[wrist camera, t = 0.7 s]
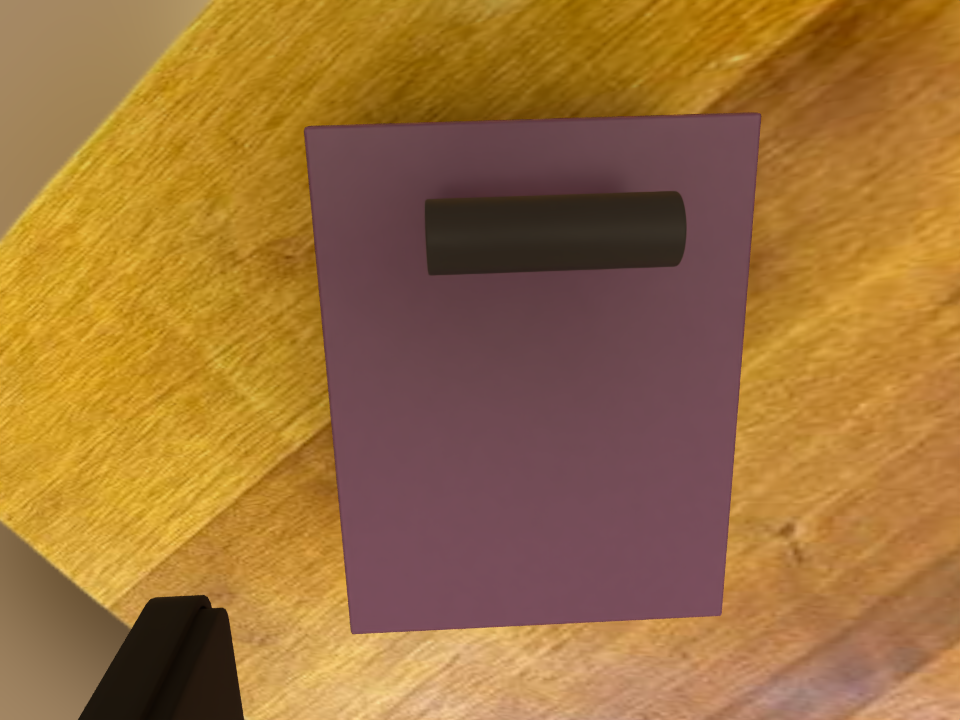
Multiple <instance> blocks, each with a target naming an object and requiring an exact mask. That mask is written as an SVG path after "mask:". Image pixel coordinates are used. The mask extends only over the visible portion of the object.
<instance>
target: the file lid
mask: <svg viewBox="0 0 960 720" xmlns="http://www.w3.org/2000/svg"><path fill="white" fill-rule="evenodd" d="M760 124H761V114H759V113H717V114H684V115H651V116H618V117H585V118H552V119H520V120H487V121H454V122H421V123H388V124H355V125H322V126H308V127H305V129H304V136H305V146H306V157H307V168H308V178H309V189H310V200H311V210H312V221H313V232H314V242H315V253H316V264H317V274H318V285H319V296H320V306H321V317H322V328H323V338H324V349H325V360H326V370H327V381H328V392H329V402H330V413H331V424H332V434H333V445H334V456H335V467H336V477H337V488H338V499H339V509H340V520H341V531H342V541H343V552H344V563H345V573H346V584H347V595H348V605H349V616H350V627H351V632H352V634H366V633H386V632H406V631H426V630H446V629H466V628H486V627H506V626H526V625H546V624H566V623H586V622H606V621H626V620H646V619H666V618H686V617H706V616H720V615H721V613H722V601H723V589H724V576H725V564H726V551H727V539H728V526H729V513H730V501H731V488H732V476H733V463H734V451H735V438H736V425H737V413H738V400H739V388H740V375H741V363H742V350H743V337H744V325H745V312H746V300H747V287H748V275H749V262H750V250H751V237H752V224H753V212H754V199H755V187H756V174H757V162H758V149H759V136H760Z"/></svg>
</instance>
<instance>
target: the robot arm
mask: <svg viewBox="0 0 960 720" xmlns="http://www.w3.org/2000/svg"><path fill="white" fill-rule="evenodd" d="M78 720H244V716H243V710H242V703H241V696H240V690H239V683H238V676H237V670H236V663H235V656H234V650H233V643H232V636H231V630H230V623H229V618H228V614H227V611H226V609H224V608H212V607H211V603H210V601H209V599H208V597H206V596H205V595H195V596H175V597H155V598H152V599H150V600H149V602H148V603H147V604H146V605H145V607H144V609H143V610H142V612H141V614H140V615H139V617H138V619H137V621H136V622H135V624H134V626H133V627H132V629H131V631H130V632H129V634H128V636H127V637H126V639H125V641H124V643H123V644H122V646H121V648H120V649H119V651H118V653H117V654H116V656H115V658H114V660H113V661H112V663H111V665H110V666H109V668H108V670H107V671H106V673H105V675H104V677H103V678H102V680H101V682H100V683H99V685H98V687H97V688H96V690H95V692H94V693H93V695H92V697H91V699H90V700H89V702H88V704H87V705H86V707H85V709H84V711H83V712H82V714H81V715H80V717H79V719H78Z"/></svg>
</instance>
